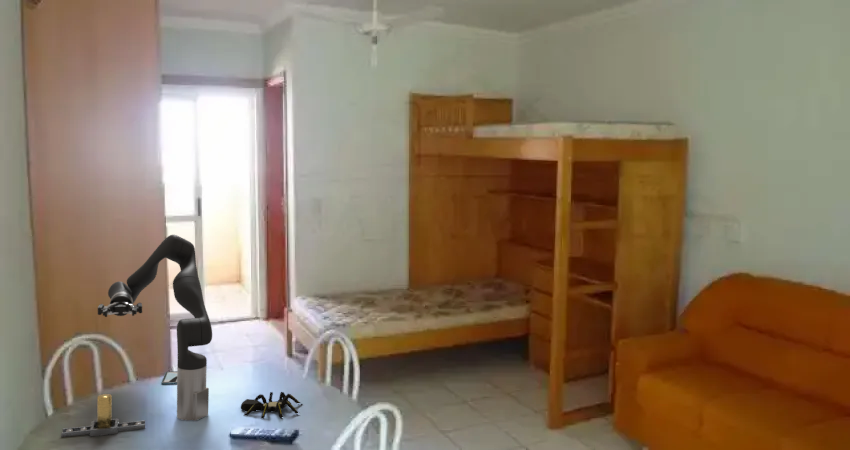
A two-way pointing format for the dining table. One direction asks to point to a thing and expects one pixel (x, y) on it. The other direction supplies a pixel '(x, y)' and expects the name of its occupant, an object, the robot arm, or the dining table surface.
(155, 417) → the dining table surface
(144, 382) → the dining table surface
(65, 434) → the ball bearing track
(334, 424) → the dining table surface
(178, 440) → the dining table surface
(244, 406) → the toy
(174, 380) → the smartphone
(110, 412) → the brass pin
